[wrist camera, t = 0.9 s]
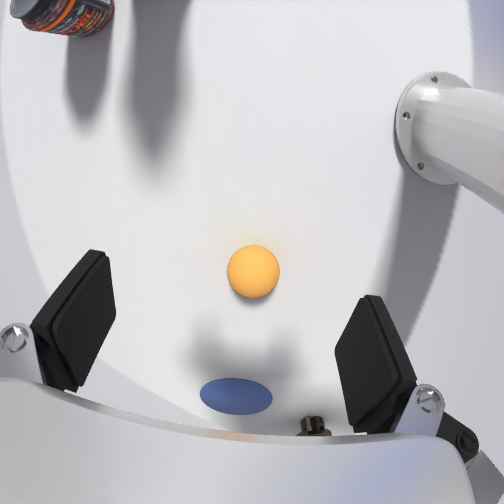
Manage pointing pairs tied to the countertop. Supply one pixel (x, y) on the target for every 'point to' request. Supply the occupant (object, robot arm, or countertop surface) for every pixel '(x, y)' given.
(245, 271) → the ball
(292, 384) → the countertop surface
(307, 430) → the industrial component
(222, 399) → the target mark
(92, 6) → the supplement bottle
